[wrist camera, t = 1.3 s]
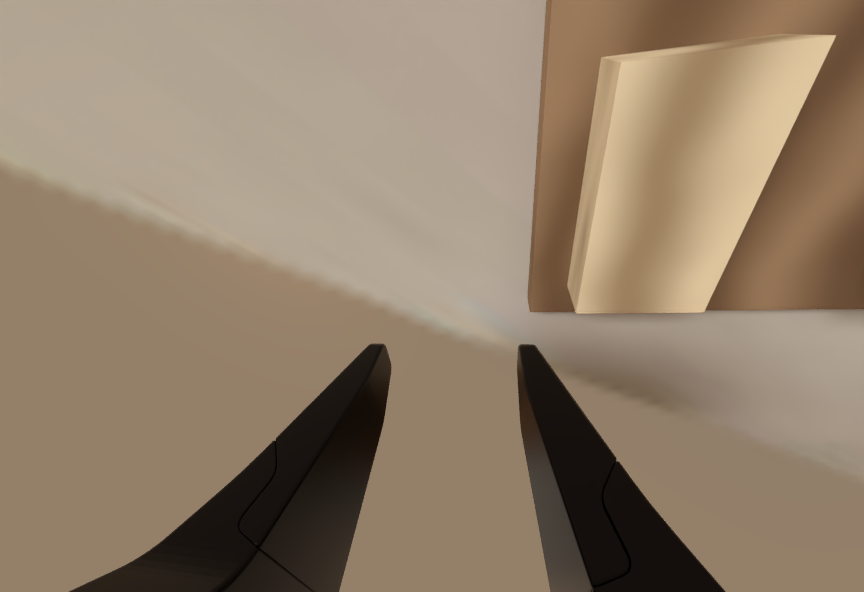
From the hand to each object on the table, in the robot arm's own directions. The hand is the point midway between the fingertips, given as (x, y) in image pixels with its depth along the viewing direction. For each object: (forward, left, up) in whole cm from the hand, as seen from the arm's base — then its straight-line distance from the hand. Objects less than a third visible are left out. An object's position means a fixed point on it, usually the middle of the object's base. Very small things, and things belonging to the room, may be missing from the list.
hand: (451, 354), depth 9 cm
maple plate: (-8, 0, -10) cm, 14 cm away
